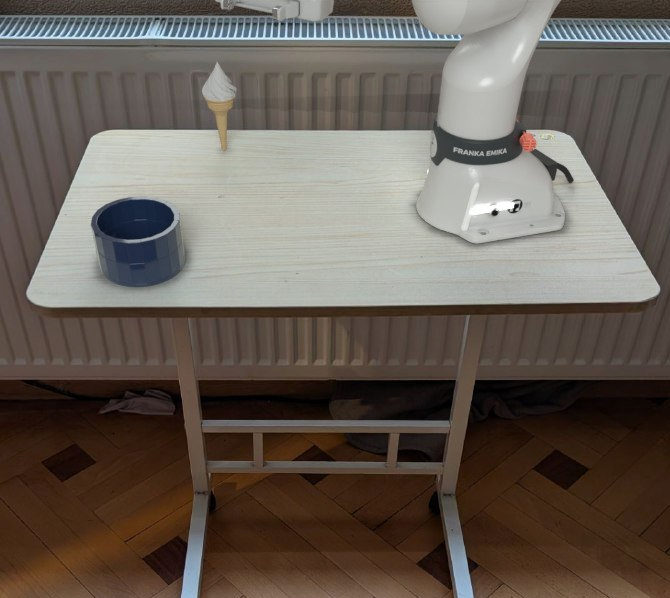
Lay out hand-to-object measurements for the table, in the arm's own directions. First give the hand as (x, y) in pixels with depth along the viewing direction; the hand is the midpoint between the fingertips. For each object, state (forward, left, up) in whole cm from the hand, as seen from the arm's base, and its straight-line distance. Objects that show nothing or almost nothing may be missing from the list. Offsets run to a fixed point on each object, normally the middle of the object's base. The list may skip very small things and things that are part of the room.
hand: (249, 10), depth 134 cm
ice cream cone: (+6, +10, -19) cm, 22 cm away
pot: (+18, +42, -19) cm, 49 cm away
